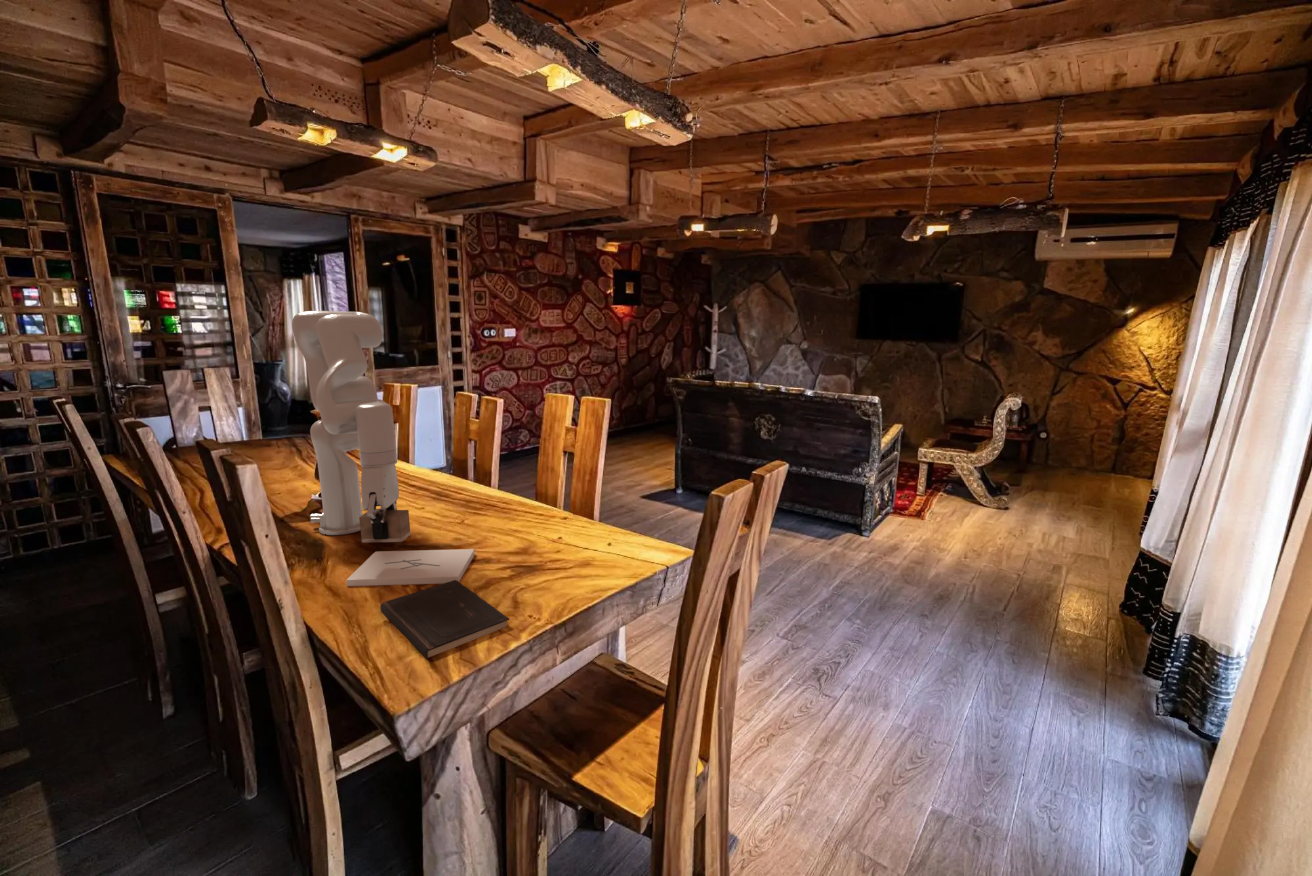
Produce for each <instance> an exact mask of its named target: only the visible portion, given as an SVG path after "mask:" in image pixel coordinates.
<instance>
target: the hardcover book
mask: <svg viewBox="0 0 1312 876" xmlns="http://www.w3.org/2000/svg"><path fill="white" fill-rule="evenodd" d="M379 607H380V608H379V609H380V612H381V613H382V614H383V615H384V616H385V617H386V618H387V619H388V620H389V621H390V622H391V623H392V624H393V626H395V627H396V628H397V630H398V631H399V632H400V633H401V634H402V635H403V636H405V638H406V639H407V640H408V641H409V642H410V643H411V644H412V645H413V647H414V648H416V649H417V651H419V652H420V653H421V654H422V656H424V658H426V659H427V660H429V658H431V657H433V656H436V655H439V654H441V653H444V652H446V651H449V650H451V649H454V648H456V647H458V646H459V647H460V646H462V645H464V644H466V643H469V642H471V641H473V640H477V639H479V638H481V637H484V636H487V635H489V634H491V633H494V632H497V631H499V630H501V628H502V629H504V628H507V627H506V626H508V623H507V621H509V620H510V618H509V617H508V616H506V615H505V614H504V613H502V612H500V610H498V609H497V608H495V607H494V606H492V605H491V604H490V603H488V602H487V601H486V600H484V599H483V598H481V596H479V595H478V594H476V593H475V592H473V591H472V590H471V589H469V588H468V587H467V586H465V585H464V584H462V583H461V582H460V581H459V582H458V581H457V580H453V581H450V582H447V583H439V584H438V585H434V586H432V587H428V588H425V589H421V590H418V591H415V592H412V593H409V594H406V595H402V596H399V597H397V598H392V599H390V600H389V599H388V600H387V601H386V600H385V601H383V602H382V603H380V606H379Z"/></svg>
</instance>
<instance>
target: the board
mask: <svg viewBox="0 0 1312 876" xmlns="http://www.w3.org/2000/svg"><path fill="white" fill-rule="evenodd" d="M475 555H476V554H475V548H466V549H465V548H464V549H463V548H462V549H460V548H459V549H457V548H456V549H425V550H424V549H423V550H422V549H421V550H387V551H381V550H380V551H375V552H374V553H372V554H371V555H370V556H369V557H368V558H367V559H366V560H365V561H364V562H363V563H362V564H361V565H359V567H358V568H357V569H356V570H355V571H354V572H352V573H351V575H350V576H349V577H348V578H347V579H346V586H347V587H360V586H361V587H369V586H396V585H397V586H398V585H399V586H400V585H401V586H402V585H427V584H428V585H436V584H438V585H439V584H444V583H447V582H450V581H453V580H457V581H458V582H460V581H461V579H462V577H463V575H464V573H465V572H466V570H467V568H468V567H469V566H470V564H471V562H472V560H473V559H474V557H475Z"/></svg>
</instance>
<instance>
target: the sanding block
mask: <svg viewBox="0 0 1312 876" xmlns="http://www.w3.org/2000/svg"><path fill="white" fill-rule="evenodd" d="M377 513H379V514H380V516H381V511H379V512H377ZM359 519H360V529H361V530H360V537H361V538H360V539H361V543H402V542H404V541H405V540H406V539H407V538H408V537H410V535H411V524H410V522H411V521H410V513H409V509H397V510H386V512H385V522H387V525H388V535H389V537H388V539H377V540H375V539H373V531H372V523H371V519H370V517H369V516H368V515H367V511H366V512H365V513H364V514H363V513H362V516H360V517H359Z"/></svg>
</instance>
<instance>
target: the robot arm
mask: <svg viewBox="0 0 1312 876" xmlns="http://www.w3.org/2000/svg"><path fill="white" fill-rule="evenodd" d="M291 328H292V329H291V330H292V334H293V337H294V340H295V343H296V345H297V346H298V349H299V351H300V352H301V354H302V356H303V359H304V361H305V364H306V369H307V370H306V371H307V378H308V383H309V389H310V397H311V402H312V405H313V407H314V409H315V410H316V411H317V412H319V415H320V418H321V419H319V420H317V421H315V422H314V423H313V424H312V425H311V427H310V429H309V432H310V433H309V434H310V439H311V442H312V445H313V448H314V449H313V450H314V452H315V457H316V461H317V469H318V470H317V471H318V477H319V485H320V487H319V488H320V494H321V495H320V496H321V502H322V513H311V514H310V516H309V519H310V523H313V524H314V523H319V524H320V525H319V526H318V531H319V533H320V534H322V535H325V534H326V536H342V535H348V534H353V533H356V532H357V533H358V532H361V529H360V519H359V517H360V516H362V515H363V511H366V512H367V515H368V516H369V517H370V519H371V523H372V531H373V539H375V540H377V539H388V537H389V535H388V525H387V522H385V512H386V510H398V509H397V508H398V507H397V503H398V502H397V501H398V499H399V497H400V494H399V493H400V491H399V481H398V473H397V472H398V471H397V467H396V464H397V463H398V458H397V446H396V434H395V424H394V413H393V408H392V405H390V404H389V403H387V402H386V401H384V400H382V399H379V397H378V394H377V388H376V386H375V383H374V382H373V380H372V379H371V378H369V377H367V376H363V375H364V374H365V373H366V371H367V369H368V361H367V359H366V355H365V353H364V350H363V349H364V348H365V349H366V348H367V349H370V348H374V349H375V348H377V347H379V346H380V345H381V344H382V340H383V330H382V327H381V324H380V323H379V320H377V318H376V317H375V316H374V315H372V314H369V313H365V312H362V311H361V312H360V311H341V310H339V311H336V310H335V311H334V310H307V311H302V312H298V313H296V314H295V315H294V316H293V317H292V321H291ZM354 450H355V451H356V450H359V452H358V453H359V462H360V467H361V473H360V476H359V468H358V465H357V462H356V461H355V460H354V459H353V458H351V456H350V455H348V454H347V453H346V452H349V451H354ZM359 477H360V478H361V479H360V478H359ZM360 486H361V487H360ZM377 507H380V508H377ZM379 511H381V516H380V514H379V513H377V512H379Z"/></svg>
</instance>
